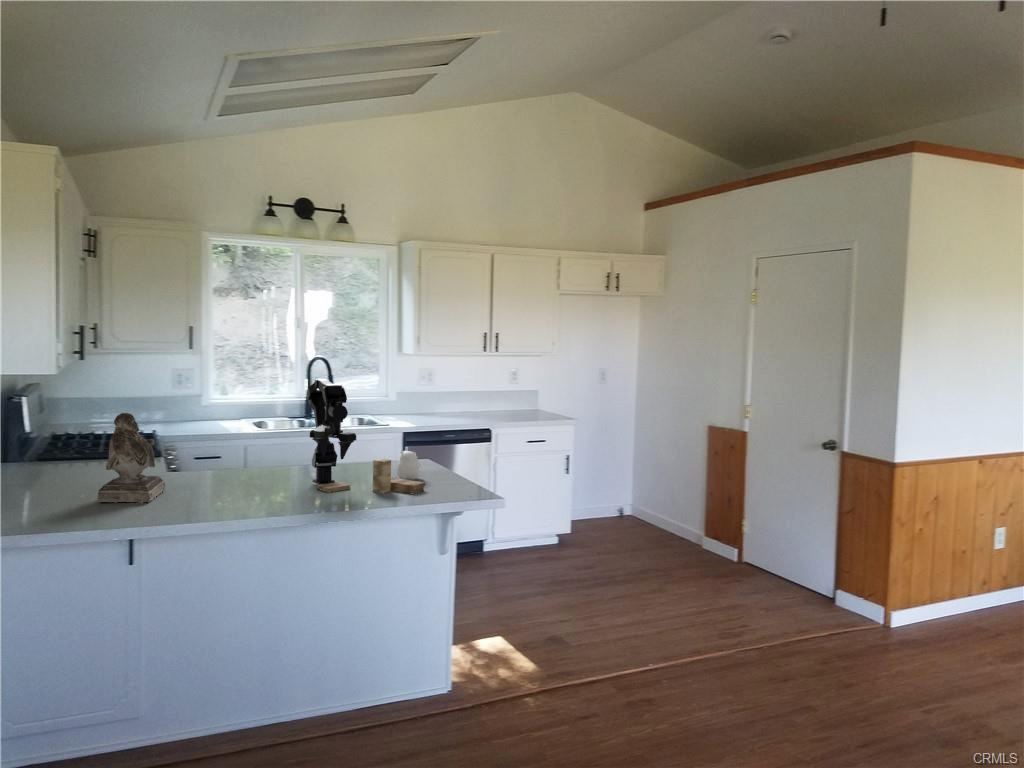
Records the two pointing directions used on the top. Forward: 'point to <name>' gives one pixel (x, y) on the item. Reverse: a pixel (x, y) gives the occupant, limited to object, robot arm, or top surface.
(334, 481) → the robot arm
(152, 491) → the sculpture
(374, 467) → the upright offcut
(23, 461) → the top surface
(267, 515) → the top surface
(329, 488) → the loose offcut
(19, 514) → the top surface
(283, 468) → the top surface
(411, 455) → the figurine
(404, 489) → the plank stack
